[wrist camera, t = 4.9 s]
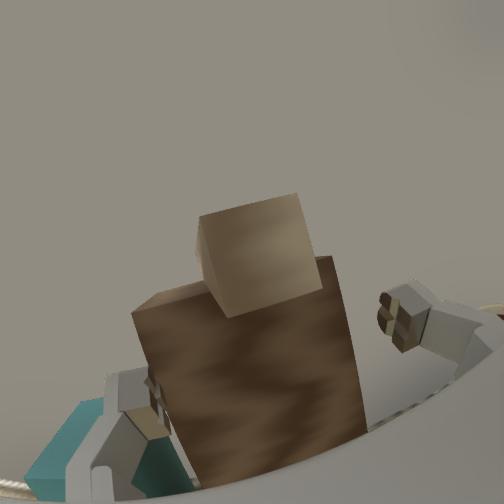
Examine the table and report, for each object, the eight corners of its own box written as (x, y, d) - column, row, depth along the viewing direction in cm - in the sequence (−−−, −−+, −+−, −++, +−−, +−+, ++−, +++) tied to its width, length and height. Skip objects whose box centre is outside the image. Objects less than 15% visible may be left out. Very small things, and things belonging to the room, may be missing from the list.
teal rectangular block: (133, 597, 12) (23, 478, 12) (143, 511, 27) (81, 401, 27) (215, 593, 14) (120, 475, 14) (202, 502, 29) (148, 388, 28)
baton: (227, 318, 8) (199, 216, 8) (203, 280, 30) (195, 251, 30) (322, 288, 9) (296, 192, 9) (231, 272, 30) (223, 244, 30)
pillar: (254, 571, 17) (131, 312, 16) (234, 495, 29) (157, 293, 29) (377, 525, 19) (331, 255, 19) (327, 463, 32) (276, 259, 31)
